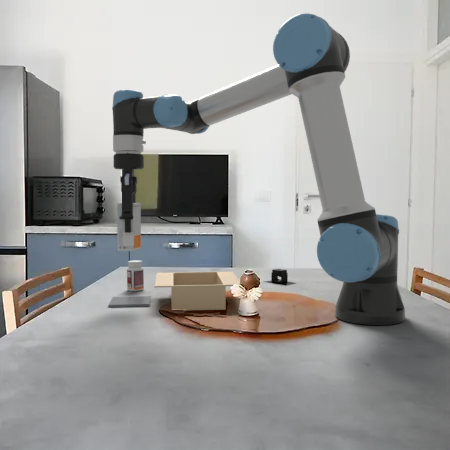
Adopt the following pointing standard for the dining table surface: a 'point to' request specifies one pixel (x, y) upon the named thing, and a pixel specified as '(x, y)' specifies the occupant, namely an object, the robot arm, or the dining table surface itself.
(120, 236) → the skincare box
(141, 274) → the pill bottle
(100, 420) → the dining table surface
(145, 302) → the coaster
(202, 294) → the carton
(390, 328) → the dining table surface
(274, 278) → the black boxy piece
